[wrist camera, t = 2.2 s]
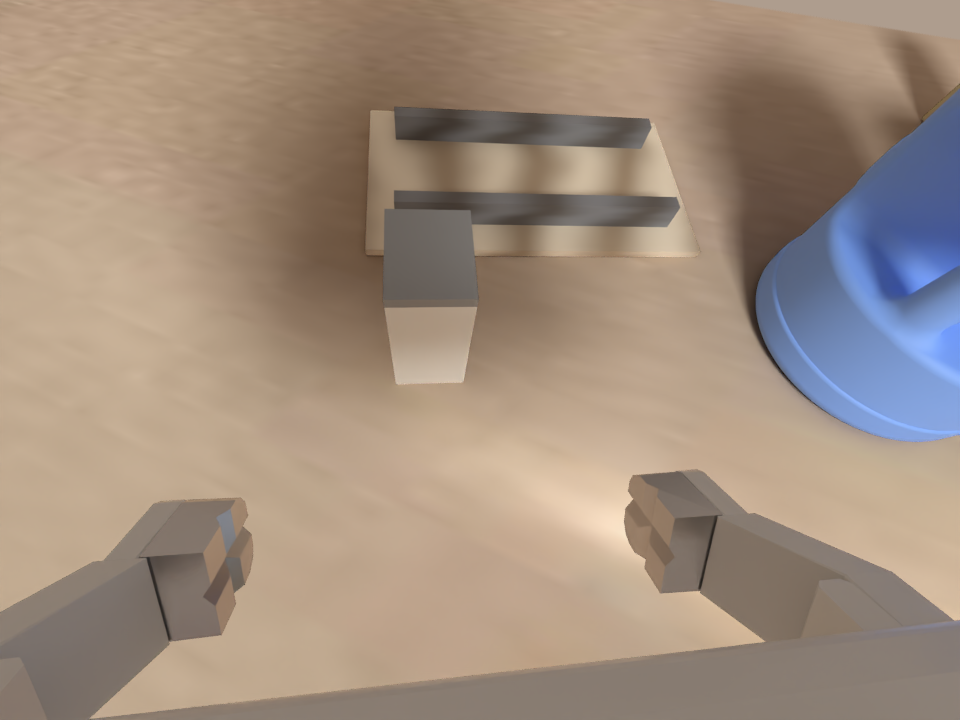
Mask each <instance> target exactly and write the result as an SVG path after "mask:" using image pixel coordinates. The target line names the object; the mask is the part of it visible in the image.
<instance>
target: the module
mask: <svg viewBox="0 0 960 720" xmlns="http://www.w3.org/2000/svg"><path fill="white" fill-rule="evenodd" d="M478 300H479V297H478V286H477V275H476V264H475V253H474V242H473V231H472V221H471V210H425V209H384V267H383V303H384V310H385V316H386V323H387V329H388V336H389V342H390V349H391V355H392V362H393V368H394V374H395V381H396V384H425V383H457V382H464V376H465V371H466V365H467V360H468V354H469V349H470V344H471V338H472V333H473V327H474V322H475V317H476V311H477V306H478Z"/></svg>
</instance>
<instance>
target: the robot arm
mask: <svg viewBox="0 0 960 720" xmlns="http://www.w3.org/2000/svg"><path fill="white" fill-rule="evenodd" d="M628 492H629V493H630V495H631V496H632V498H633V500H632V501H631V503H630V504H629V505H628V506H627V507H626V509H625V518H624V524H625V531H626V536H627V538H628V541H629V544H630V545H631V547H632V549H633V550H634V552H635V553H637V554H638V555H640V556H641V557H643V558H645V559H646V562H645V570H646V571H647V573H648V575H649V576H650V578H651V579H652V581H653V582H654V584H655V586H656V587H657V589H658V590H659V592H660V593H673V592H689V591H700V593H701V594H702V595H704V596H705V597H706V598H708V599H709V600H710V601H712V602H713V603H715V604H716V605H717V606H719V607H720V608H721V609H723V610H724V611H725V612H727V613H728V614H729V615H731V616H732V617H733V618H735V619H736V620H737V621H739V622H740V623H742V624H743V625H744V626H746V627H747V628H748V629H750V630H751V631H752V632H754V633H755V634H756V635H758V636H759V637H760V638H762V639H763V640H764V641H766V642H762V643H754V644H745V645H737V646H728V647H720V648H712V649H703V650H694V651H685V652H676V653H667V654H658V655H649V656H640V657H631V658H622V659H613V660H604V661H595V662H586V663H577V664H568V665H559V666H550V667H542V668H533V669H524V670H516V671H507V672H498V673H489V674H481V675H472V676H463V677H455V678H446V679H437V680H428V681H420V682H411V683H402V684H394V685H385V686H376V687H368V688H359V689H350V690H341V691H333V692H324V693H315V694H306V695H297V696H289V697H280V698H271V699H262V700H254V701H245V702H236V703H227V704H218V705H210V706H201V707H192V708H183V709H175V710H166V711H157V712H148V713H140V714H131V715H122V716H113V717H104V718H96V719H89V718H90V717H91V716H92V715H94V714H95V713H96V712H97V711H98V710H99V709H100V708H101V707H102V706H103V705H104V704H105V703H107V702H108V701H109V700H110V699H111V698H112V697H113V696H114V695H115V694H116V693H117V692H118V691H120V690H121V689H122V688H123V687H124V686H125V685H126V684H127V683H128V682H129V681H130V680H131V679H133V678H134V677H135V676H136V675H137V674H138V673H139V672H140V671H141V670H142V669H143V668H144V667H146V666H147V665H148V664H149V663H150V662H151V661H152V660H153V659H154V658H155V657H156V656H158V655H159V654H160V653H161V652H162V651H163V650H164V649H165V648H166V647H167V646H168V645H169V644H170V643H169V642H170V641H178V640H186V639H194V638H202V637H211V636H219V635H222V633H223V631H224V629H225V627H226V625H227V622H228V620H229V618H230V616H231V614H232V611H233V609H234V607H235V605H236V601H235V596H234V593H235V592H236V591H237V590H238V589H240V588H241V587H242V586H243V585H245V583H246V580H247V578H248V576H249V573H250V570H251V565H252V560H253V541H252V534H251V533H250V532H249V531H247V530H246V529H245V528H244V527H243V524H244V522H245V521H246V519H247V517H248V512H247V508H246V503H245V501H244V500H243V499H242V498H217V499H192V500H172V501H160V502H157V503H155V504H153V505H152V506H151V507H150V508H149V510H148V511H147V512H146V513H145V514H144V515H143V516H142V517H141V519H140V520H139V521H138V522H137V523H136V524H135V525H134V527H133V528H132V529H131V530H130V531H129V532H128V533H127V534H126V536H125V537H124V538H123V539H122V540H121V541H120V542H119V544H118V545H117V546H116V547H115V548H114V549H113V550H112V551H111V553H110V554H109V555H108V556H107V557H106V558H105V559H104V560H103V561H97V562H92V563H90V564H88V565H86V566H85V567H83V568H81V569H79V570H77V571H75V572H74V573H72V574H70V575H68V576H66V577H64V578H62V579H61V580H59V581H57V582H55V583H53V584H51V585H50V586H48V587H46V588H44V589H42V590H40V591H38V592H37V593H35V594H33V595H31V596H29V597H27V598H26V599H24V600H22V601H20V602H18V603H16V604H14V605H13V606H11V607H9V608H7V609H5V610H3V611H2V612H0V720H960V620H955V621H954V620H953V619H952V618H950V617H949V616H948V615H946V614H945V613H944V612H943V611H941V610H940V609H939V608H938V607H936V606H935V605H934V604H932V603H931V602H930V601H929V600H927V599H926V598H925V597H923V596H922V595H921V594H920V593H918V592H917V591H916V590H914V589H913V588H912V587H911V586H909V585H908V584H907V583H905V582H904V581H903V580H902V579H900V578H899V577H898V576H897V575H895V574H894V573H893V572H891V571H888V570H886V569H884V568H881V567H879V566H877V565H874V564H872V563H870V562H867V561H865V560H863V559H860V558H858V557H856V556H853V555H851V554H849V553H846V552H844V551H842V550H839V549H837V548H835V547H832V546H830V545H828V544H825V543H823V542H821V541H818V540H816V539H814V538H811V537H809V536H807V535H804V534H802V533H800V532H797V531H795V530H793V529H790V528H788V527H786V526H783V525H781V524H779V523H776V522H774V521H772V520H769V519H767V518H765V517H762V516H760V515H758V514H755V513H752V514H748V513H747V512H746V511H745V510H744V509H743V508H742V507H740V506H739V505H738V504H737V503H736V502H735V501H734V500H733V499H732V498H731V497H730V496H729V495H728V494H727V493H725V492H724V491H723V490H722V489H721V488H720V487H719V486H718V485H717V484H716V483H715V482H714V481H713V480H712V479H710V478H709V477H708V476H707V475H706V474H705V473H704V472H702V471H700V470H697V469H696V470H685V471H676V472H668V473H654V474H641V475H633V476H632V478H631V480H630V483H629V489H628Z"/></svg>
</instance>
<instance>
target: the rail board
mask: <svg viewBox="0 0 960 720" xmlns="http://www.w3.org/2000/svg"><path fill="white" fill-rule="evenodd" d="M384 209H425V210H471V221H472V231H473V242H474V253H475V256H572V257H697V256H698V255H699V253H700V252H701V251H700V249H699V246H698V243H697V240H696V238H695V235H694V232H693V229H692V226H691V224H690V221H689V218H688V215H687V213H686V210H685V207H684V204H683V202H682V199H681V196H680V193H679V191H678V188H677V185H676V182H675V179H674V177H673V174H672V171H671V168H670V166H669V163H668V160H667V157H666V155H665V152H664V149H663V146H662V144H661V141H660V138H659V135H658V133H657V130H656V127H655V124H654V123H650V121H649V119H642V118H621V117H600V116H579V115H558V114H537V113H516V112H495V111H474V110H453V109H431V108H410V107H394V111H380V110H371V111H370V137H369V162H368V188H367V213H366V239H365V252H366V255H384Z"/></svg>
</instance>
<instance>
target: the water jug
mask: <svg viewBox="0 0 960 720" xmlns="http://www.w3.org/2000/svg"><path fill="white" fill-rule="evenodd" d="M756 314H757V320H758V324H759V328H760V331H761V334H762V337H763V339H764V341H765V344H766V346H767V348H768V350H769V351H770V353H771V355H772V357H773V358H774V360H775V361H776V363H777V364H778V366H779V367H780V369H781V370H782V371H783V372H784V374H785V375H786V376H787V377H788V379H789V380H790V381H791V382H792V383H793V384H794V385H795V386H796V387H797V388H798V389H799V390H800V391H801V392H802V393H803V394H804V395H805V396H806V397H808V398H809V399H810V400H811V401H812V402H814V403H815V404H816V405H817V406H819V407H820V408H822V409H823V410H824V411H826V412H827V413H829V414H830V415H832V416H834V417H835V418H837V419H839V420H841V421H842V422H844V423H846V424H848V425H850V426H852V427H855V428H857V429H859V430H862V431H864V432H867V433H870V434H873V435H876V436H880V437H884V438H888V439H893V440H900V441H911V442H923V441H933V440H939V439H943V438H947V437H951V436H955V435H960V89H958V90H957V91H956V92H955V93H954V94H953V95H952V96H951V97H950V98H949V99H948V100H947V101H945V102H944V103H943V104H942V105H941V106H940V107H939V108H938V109H937V110H936V111H935V112H934V113H933V114H931V115H930V116H929V117H928V118H927V119H926V120H925V121H924V122H923V123H922V124H921V125H920V126H918V127H917V128H916V129H915V130H914V131H913V132H912V133H911V134H909V135H907V136H906V137H904V138H903V139H901V140H900V141H899V142H898V143H897V144H895V145H894V146H893V147H892V148H890V149H889V150H888V151H887V152H886V153H885V154H884V155H883V156H882V157H881V158H880V159H879V160H878V161H877V162H875V163H874V164H873V165H872V166H871V167H870V168H869V169H868V170H867V171H866V173H865V174H864V175H863V176H862V177H861V178H860V179H859V180H858V182H857V184H856V185H855V186H854V187H853V188H852V189H851V190H850V191H849V192H848V193H847V194H846V195H845V196H843V197H842V198H841V199H840V200H839V201H838V202H837V203H836V204H835V205H834V206H833V207H832V208H830V209H829V210H828V211H827V212H826V213H825V214H824V215H823V216H822V217H821V218H820V219H819V220H817V221H816V222H815V223H814V224H813V225H812V226H811V227H810V228H809V229H808V230H807V231H806V232H804V233H803V234H802V235H801V236H799V237H797V238H795V239H794V240H792V241H791V242H789V243H788V244H787V245H786V246H785V247H783V248H782V249H781V250H780V251H779V252H778V253H777V254H776V255H775V256H774V258H773V259H772V260H771V261H770V262H769V263H768V265H767V266H766V268H765V269H764V271H763V273H762V275H761V277H760V280H759V283H758V286H757V291H756Z"/></svg>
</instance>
